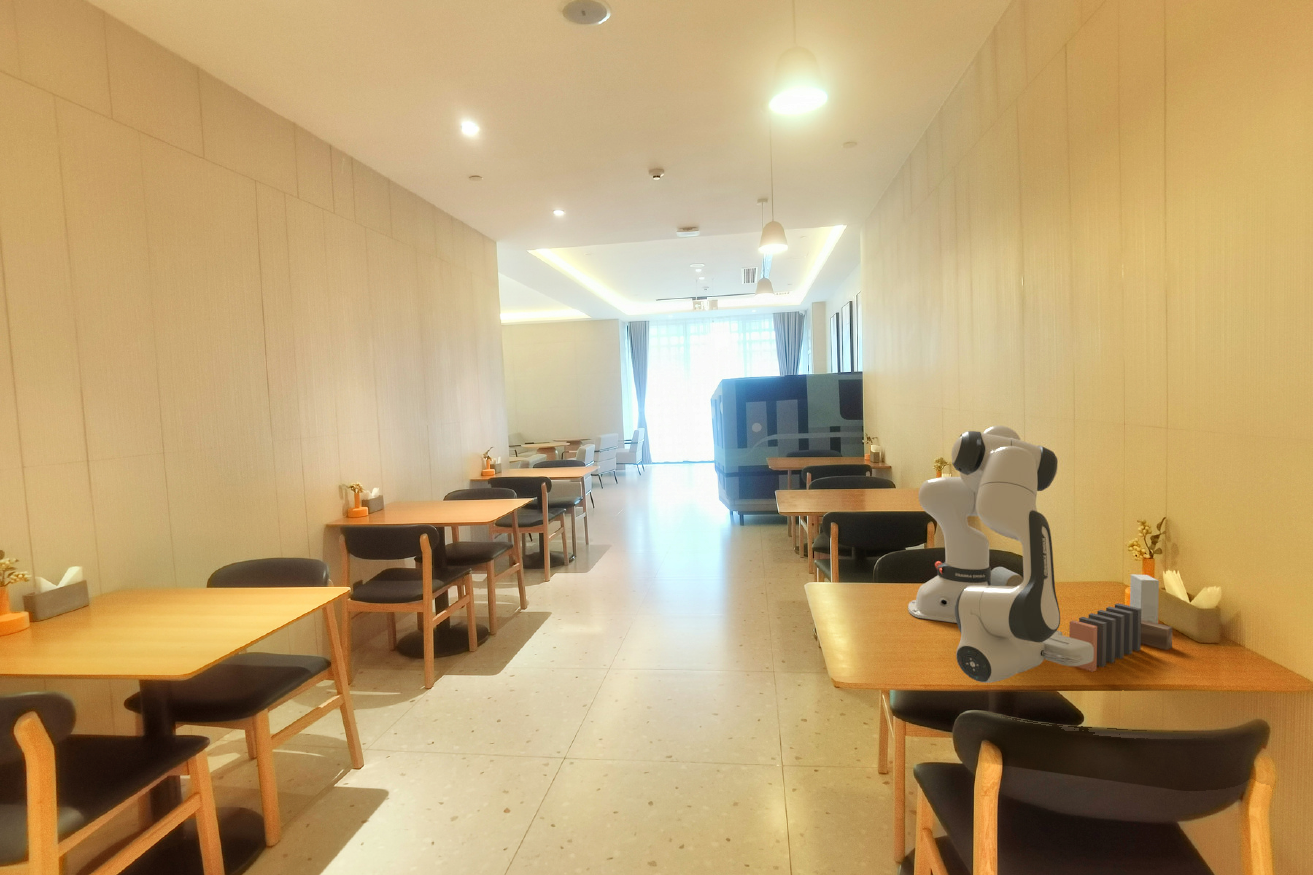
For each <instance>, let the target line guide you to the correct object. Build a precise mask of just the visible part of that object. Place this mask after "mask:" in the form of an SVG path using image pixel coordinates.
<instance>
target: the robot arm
mask: <svg viewBox="0 0 1313 875" xmlns="http://www.w3.org/2000/svg"><path fill="white" fill-rule="evenodd" d="M951 463H952V464H951V465H952V466H953V467H954V469H955V470H956V471H958V472H959V476H939V477H936V478H931V479H927V480H925V481H924V482H922V484H921V485H920V487H919V490H918V494H917V495H918V503H919V505H920V506H921V509H922V510H924V512H925V513H926V514H928V515H930V516H931V517H932V518H933V519H934V520H935V521H936V522H937V524H938V525H939V527H940V529H941V531H942V534H943V539H944V549H945V552H944V553H945V561H944V562H942V561H939V560H938V561H935V563H934V566H935V569H936V570H937V575H936V576H934V577H933V578H931V579H930V580H928V581H927V582H924V583H923V584H921V586H920V587H919V588H918V591H917V594H916V597H915V598H916V599H913V600H911V601H910V602H908V606H907V609H908V610H907V611H908V613H909V614H910V615H912V616H913V617H915V618H918V619H926V620H933V621H941V622H948V623H955V624H957V627H958V631H959V633H960V634H961V635H960V640H959V643H958V645H957V648H956V652H955V657H956V661H957V662H956V663H957V665H958V666H959V668H960V669H961V671H962V672H963V673H964V674H965V675H966V676H967V677H968V678H970V679H972V680H973V681H976V682H979V683H984V684H985V683H986V684H988V683H996V682H1000V681H1002V680H1006V679H1009V678H1011V677H1013V676H1015V675H1016V674H1021V673H1025V672H1027V671H1029V670H1030V669H1034V668H1036V667H1038V666H1040V665H1041V664H1042V663H1043V662H1044V660H1045V661H1049V662H1052V663H1056V664H1059V665H1062V666H1067V667H1076V666H1079V665H1084V664H1087V663H1090V662H1092V661H1093V657H1094V649H1093V646H1092V644H1091V643H1089V642H1085V641H1081V640H1078V639H1074V638H1070V637H1069V636H1066V635H1063V631H1060V630H1058V629H1059V627H1060V625H1061V612H1060V607H1059V602H1058V598H1057V592H1056V584H1055V582H1056V581H1055V566H1054V555H1053V554H1054V553H1053V551H1054V550H1053V542H1052V541H1053V540H1052V533H1051V527H1050V525H1049V522H1048V520H1047V518H1046V516H1044V515H1043V514H1042V513H1041V512H1038V509H1037V495H1038V492H1042V491H1044V490H1047V489H1048V488H1049V487H1050V486H1051V484H1052V483H1053V482H1054V480H1055V478H1056V477H1057V473H1058V457H1057V456H1056V454H1055V452H1054V451H1053V450H1050V449H1049V448H1047V447H1044V446H1042V445H1035V444H1033V443H1030V442H1027V441H1024V440H1021V438H1020V435H1019V434H1018V433H1017V432H1016V431H1015V430H1014V429H1013V428H1010V427H1008V426H1005V425H993V426H990V427H988V428H986V429H984V431H983V432H981V431H978V430H977V431H976V430H975V431H974V430H966V431H965V432H963V433H961V434H960V435H959V437H958V438H957V439H956V441H955V442H954V444H953V446H952V449H951ZM968 517H978V518H979V520H980V521H981V522H982V524H983V525H985V526H986V527H987V528H988V529H990V530H991V531H993V532H995V533H997V534H998V535H1001V536H1004V537H1006V538H1009V539H1012V540H1015V541H1018V542H1019V543H1020V544H1021V546H1022V568H1023V572H1022V573H1023V579H1024V580H1023V582H1022V583H1021V584H1020V585H1018V586H990V585H991V571H992V570H991V569H992V568H991V566H990V541H989V539H988V537H987V535H985V533H984V532H982V531H981V530H978V529H977V528H974V527H972V526H970V525H969V522H968Z"/></svg>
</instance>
